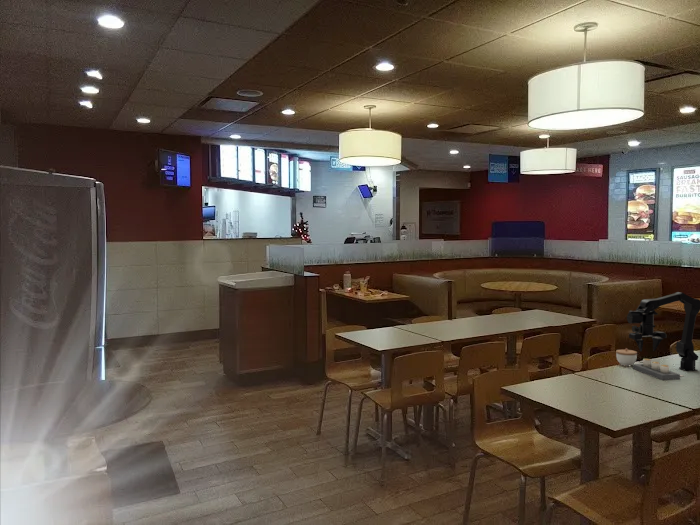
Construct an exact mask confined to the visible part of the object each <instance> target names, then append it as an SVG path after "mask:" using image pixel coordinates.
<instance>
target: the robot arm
mask: <svg viewBox="0 0 700 525" xmlns="http://www.w3.org/2000/svg"><path fill="white" fill-rule="evenodd" d="M675 302H680V303H682V304H683V309H684V312H685V317H684V324H683V329H682V334H681V339H680V340H679V341H676V346H675V350H676V352H677V354H678V357H679V358H680V364H679V365H680V367H678V369H680V370H683V371H686V372H694V371H695V372H697V371H698V369H696V361H698V359H699V355H698V354H697V353H696V352H695V345H694V343H693V337H694V335H693V334H694V330H695V323H696V320H697V319H696V318H697V315H698V314H699V312H700V299H698V298H694V297H691V296H690V295H688V294H685V292H679V291H677V292H673V293H672V294H667V295H664V296H662V297H661V296H660V297H657V298H646V299H642V300H641V301H640V303H639V305H638V306H637V308H636V309H635V310H629V311H628V313H627V316H626V321H627V323H628V324H639V326H638V325H632V326H631V330H632V331H631V332H629V334H628V338H629V339H632V340H634V341H635V343H636V344H637V347H638V349H639V352H641V353H642V352H643V350H644V349H643V348H644V347H643V346H644V339H643V338H651V339H652V351H653V352H655V351H656V350H657V348H658V347H659V345H660V344H661V342H662V340H664V339H667V334H666V332H664V331H654V328H656V325H655V324H654V323H655V320H654V318H655V317H654V316H658V315H659V313H658V312H656V311H655V310H657V309H658V308H660V307H662V306H665V305H669V304H671V303H675Z"/></svg>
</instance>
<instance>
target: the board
mask: <svg viewBox="0 0 700 525" xmlns="http://www.w3.org/2000/svg"><path fill="white" fill-rule="evenodd" d="M632 369H633V370H635V371H638V372H641V373H643V374H646V375H648V376H651V377H653V378H656V379H658V380H660V381H671V380H672V381H673V380H681V377H680V375H681V374H680V373H677V372H674V371H672V370H669V374H663V373H660V370H652V369H651V367H644V366H643V363H634V364H633V365H632Z"/></svg>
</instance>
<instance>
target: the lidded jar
mask: <svg viewBox="0 0 700 525" xmlns="http://www.w3.org/2000/svg"><path fill="white" fill-rule="evenodd" d="M615 353H616V354H615V356H616V360H617V362H618V363H619V365H621V366H624V367H625V365H626V367H630V366H629V365H632V366H633V364H636V362H637V356H638V351H636V350H632V349H628V348H627V347H625V349H616V351H615Z"/></svg>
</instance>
